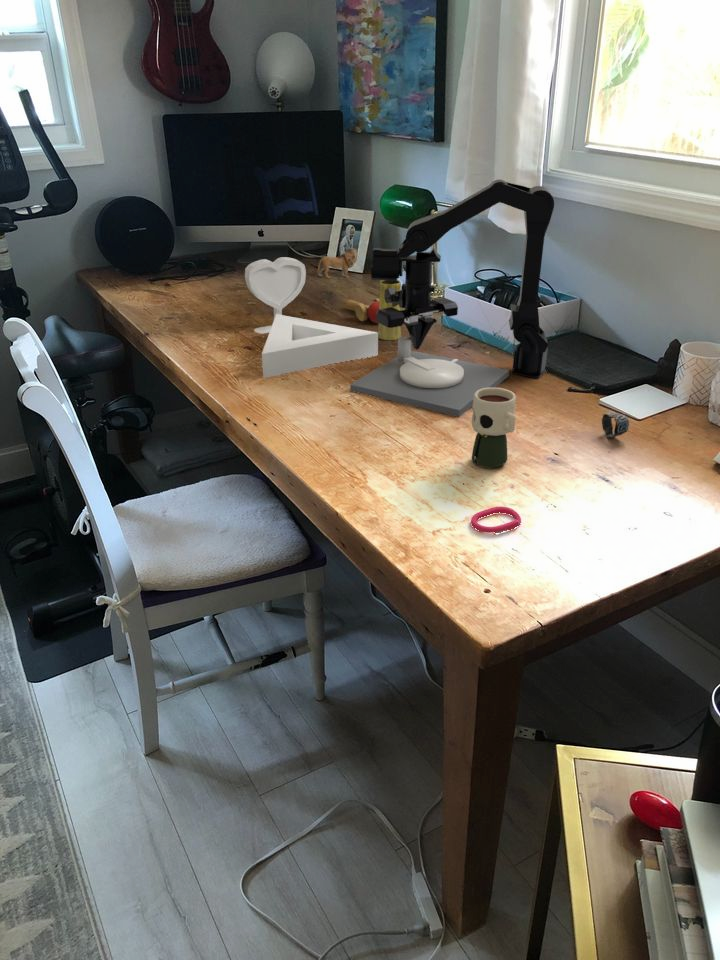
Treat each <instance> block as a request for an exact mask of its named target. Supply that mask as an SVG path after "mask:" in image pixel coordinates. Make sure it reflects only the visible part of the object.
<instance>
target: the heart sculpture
mask: <svg viewBox="0 0 720 960" xmlns="http://www.w3.org/2000/svg"><path fill="white" fill-rule="evenodd" d="M306 275H307V271H306V266H305V264H304V263H303V262H302V261H300V260H298V259H296V258H292V257H288V256H287V257H286V256H285V257H284V256H283V257H282V256H281V257H277V259H275V260H274V261H271V260H268V259H266V258H264V259H258V260H256V261H253V262H251V263H249V264H248V265H247V266H246V267H245V269H244V279H245V283H246V287H247V288H248V290H249V291H250V292H251V294H252V295H253V296H254V297H256V298H257V299H259V301H262V302H263V303H264V304H265V305H268V306H269V307H271V308H273V320H274V319H275V316H276V314H279V315H283V312H282V311H283V309H284V308H285V307H286V306H287V305H289V304H290V303H292V302H293V301H294V300H295V298H296V297H298V295H300V293H301V292H302V289H303V287H304V286H305V283H306V277H307V276H306ZM271 327H272V324H271V325H266V326H260V327H256V328H254V330H253V331H254V332H255V333H257V334H262V335H263V334H269V333H270V330H271Z"/></svg>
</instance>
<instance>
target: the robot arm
mask: <svg viewBox="0 0 720 960" xmlns="http://www.w3.org/2000/svg"><path fill="white" fill-rule="evenodd" d="M500 203H501V204H505V206H506V205H507V206H510V207H512V208H514V209H517V210H520V211H522V212H523V215H524V216H523V218H524V225H525V240H524V252H523V260H522V261H523V262H522V272H521V280H520V291H519V297H518V299H517V300H518V301H517V303H516V304H513V303H511V304H510V317H509V319H508V324H509V325H508V326H509V331H512V334H513V337H514V339H515V341H517V342H518V344H517V345H516V350H514V351H513V358H512V359H513V360H512V370H511V374H515V375H520V376H524V377H527V378H533V379H539V378H540V377H541V376H543V375H544V374H545V373H546V372H547V371H546V369H545V367H546V368H547V357H548V349H549V343H548V339H547V336H546V333H545V331H544V329H542V328H541V326H540V315H539V305H538V297H539V289H540V280H541V279H540V278H541V269H542V261H543V254H544V253H543V252H544V242H545V236H546V234H547V230H548V228H549V225H550V222H551V219H552V216H553V212H554V208H555V200H554V197H553V195H552V194H551V192H550V191H549V190H548V189H547V188H546V187H545V186H541V185H536V186H532V187H528V186H524V185H520V184H516V183H511V182H508V181H505V180H503V179H499V178H498V179H495V180H493V181H492V182H491V183H490V184H489V185H487V186H486V187H485V186H484V187H483V188H482V189H480V190H479V191H476V192H475V193H473V194H471V195H469V196H468V197H466V198H464V199H463V200H460V201H459V202H457V203H455V204H454V205H452V206H450V207H449V208H447V209H445V210H443V211H441V212H438V213H434V214H431V215H427V216H424V217H421V218H419V219H416V220H414V221H413V222H411V223H410V224H409V226H408V228H407V231H406V234H405V238H404V240H403V242H402V243H399V245H398V246H399V247H398V249H397V248H381V247H374V248H373V249H372V262H371V266H370V277H371V281H397V280H398V279H400V277H403V272H404V262H405V282H404V283H401V291H396V290H395V288H390V289H385V294H384V298H385V302H386V303H392V307H390V308H384V309H379V310H378V312H377V313H376V322H378V323H380V324H382V325H384V326H386V327H388V328H393V327H398V326H400V327H402V326H403V325H404V326H405V327H406V329H407V332H408V334H409V337H410V338H411V344H412V346H413V349H414V350H415V351H416V350H419V349H420V347H422V344H423V342H424V340H425V339H426V336H427V335H428V333H429V331H430V330H431V328H432V327H433V325H434V324H435V323H438V322H437V319H436V318H434V314H438V313H442V312H443V314H444V315H445V316H446V317H447V318H448V317H455V316H458V314H459V306H458V304H457V303H456V301H453V300H451V299H448V298H446V297H440V298H434V299H431V298H432V293H434V292H435V291H436V290H435V289H436V288H435V286H433V285H432V273H433V272H432V269H433V263H440V262H441V258H442V257H441V254H439V253H438V252H437V250H436V248H434V247H433V246H434V244H436V243H438V242H439V240H441V239H442V237H444V236H445V235H446V234H447V233H448V232H449V231H451V230H452V229H454V228H456V227H458V226H459V225H461V224H463V223H465V222H467V221H468V220H471V219H472V218H474V217H475V216H477V215H479V214H481V213H483V212H485V211H487V210H488V209H490V208H491V207H493V206H495V205H497V204H500ZM431 247H433V248H432V249H431V250H430V251H427V250H428V249H430V248H431ZM414 253H416V255H413V254H414ZM397 305H399V307H400V309H403V310H400V311H399V310H397V309H395V308H393V307H394V306H397Z"/></svg>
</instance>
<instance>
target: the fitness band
mask: <svg viewBox="0 0 720 960" xmlns="http://www.w3.org/2000/svg"><path fill="white" fill-rule="evenodd" d="M499 512H500V513H506V514H510V515H512V516H513V517H515V519H516V520H515V519H514V520H512V521H509V522H506V523H504V524H500V525H497V526H495V525H494V526H485V525H481V524H480V523H478V521H479V520H478V519H479V518H481V517H484V516H487V515H490V514H493V513H499ZM506 514H505V515H506ZM512 516H511V517H512ZM513 517H512V518H513ZM477 520H478V521H477ZM520 523H521V524H522V519H521V516H520V514H519V513H518V512H517V511H516V510H514V509H512V508H510V507H508V506H493V507H489V508H488V509H487V508H486V509H483V510H481V511H479V512H476V513H474V514H473V515H472V516H471V519H470V525H471V524H472V526H473V527H474V528H476V529H477V530H479V531H478V532H480V531H481V533H487V534H488V533H492V534H494V532H495V533H501V532H503V531H507V530H511V529H514V528H515V527H517V526H519V525H520V526H521V524H520ZM472 526H471V527H472ZM520 526H519V527H520ZM473 527H472V528H473ZM477 530H476V531H477ZM514 530H515V529H514Z"/></svg>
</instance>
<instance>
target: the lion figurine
mask: <svg viewBox="0 0 720 960" xmlns="http://www.w3.org/2000/svg"><path fill="white" fill-rule="evenodd" d="M358 257H359V256H358V249H356V248H353V247H350V248H347V249H346V251H345V252H344V253H342V254H341V255H339V256H336V257H333V256H328V255H325V256H324V257H323V256H322V258H320V260H319V262H318V264H317V265H318V266H317V271H316V273H315V275H314V278H316V277H317V276H318V277H323V274H324V276H325V277H326V279H330V280H331V278H332V277H331V275H330V276H329V274H328V273H329V270H330V267H331V268H333V269H336V270H337V269H338V270H339V269H340V270H341V275H342V276H343V277H345V278H346V279H349V278H350V275H348V272H349V269H350V268H353V267H354V265H355V264H356V263H357V260H358ZM323 271H324V273H323V274H322V272H323Z"/></svg>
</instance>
